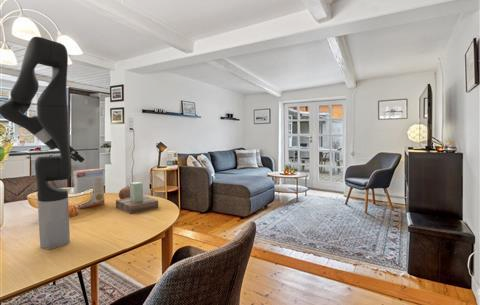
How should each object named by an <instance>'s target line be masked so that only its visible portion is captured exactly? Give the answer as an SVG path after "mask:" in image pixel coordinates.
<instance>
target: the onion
mask: <svg viewBox="0 0 480 305" xmlns="http://www.w3.org/2000/svg"><path fill="white" fill-rule="evenodd" d="M118 198H119V200H120V199H125V198H130V186H128V185H127V186H125V187H123V188H121V189H120V190H119V192H118Z"/></svg>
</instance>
